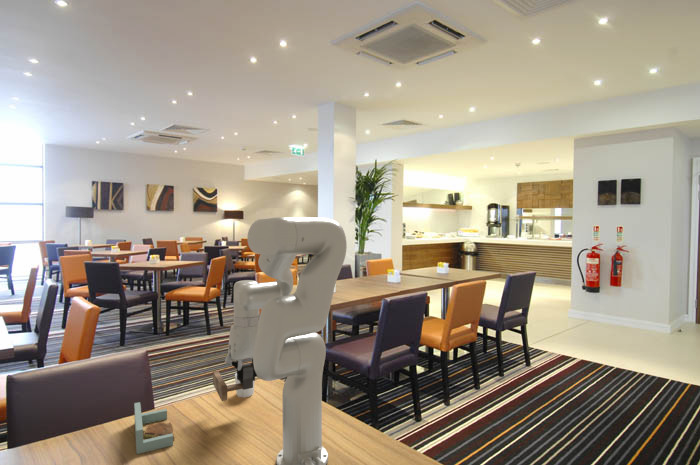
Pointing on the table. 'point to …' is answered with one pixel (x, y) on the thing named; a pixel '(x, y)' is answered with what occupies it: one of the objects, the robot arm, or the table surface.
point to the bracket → (139, 420)
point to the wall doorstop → (223, 388)
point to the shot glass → (246, 391)
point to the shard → (158, 429)
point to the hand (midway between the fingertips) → (246, 379)
